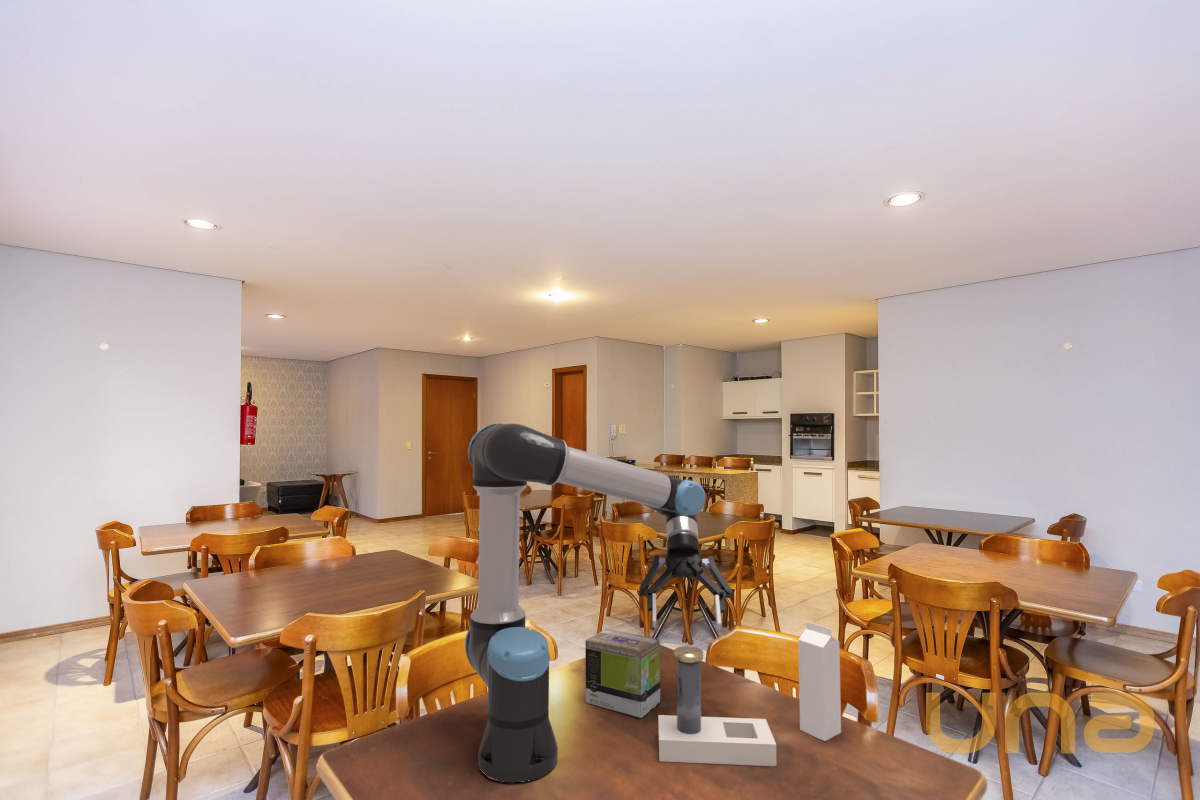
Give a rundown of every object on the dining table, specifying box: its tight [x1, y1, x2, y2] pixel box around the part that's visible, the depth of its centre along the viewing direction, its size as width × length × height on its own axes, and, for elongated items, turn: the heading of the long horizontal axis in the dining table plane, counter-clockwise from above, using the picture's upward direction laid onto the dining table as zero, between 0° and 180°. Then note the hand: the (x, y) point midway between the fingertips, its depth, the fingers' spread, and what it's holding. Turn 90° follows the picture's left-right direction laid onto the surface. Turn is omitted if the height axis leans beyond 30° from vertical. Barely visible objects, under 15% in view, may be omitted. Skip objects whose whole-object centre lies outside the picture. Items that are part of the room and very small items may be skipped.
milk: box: [798, 621, 842, 742], centre depth 126 cm, size 6×6×22 cm
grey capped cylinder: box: [673, 645, 704, 734], centre depth 119 cm, size 6×6×15 cm
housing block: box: [657, 714, 778, 767], centre depth 119 cm, size 22×10×4 cm, turn 85°
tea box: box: [584, 628, 661, 719], centre depth 139 cm, size 15×10×15 cm, turn 58°
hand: (686, 625), depth 127 cm, fingers open, 13 cm apart
